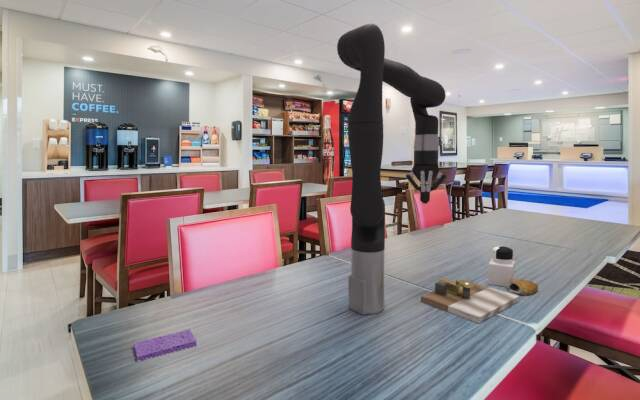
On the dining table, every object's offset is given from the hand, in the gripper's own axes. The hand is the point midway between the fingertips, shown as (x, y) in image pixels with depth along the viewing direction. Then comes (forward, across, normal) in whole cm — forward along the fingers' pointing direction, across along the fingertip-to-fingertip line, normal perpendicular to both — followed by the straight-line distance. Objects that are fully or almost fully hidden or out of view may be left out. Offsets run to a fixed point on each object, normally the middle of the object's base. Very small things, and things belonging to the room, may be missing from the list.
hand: (424, 203), depth 120 cm
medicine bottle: (+27, +26, +3) cm, 38 cm away
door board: (+27, +11, -14) cm, 32 cm away
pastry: (+27, +30, -4) cm, 41 cm away
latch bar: (+25, +8, -13) cm, 29 cm away
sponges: (+28, -65, -47) cm, 85 cm away
